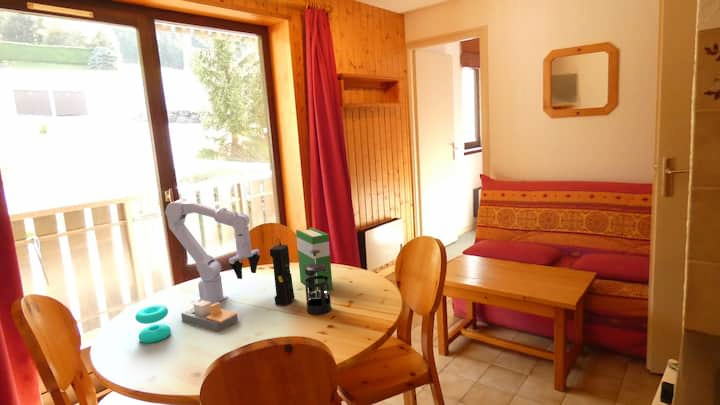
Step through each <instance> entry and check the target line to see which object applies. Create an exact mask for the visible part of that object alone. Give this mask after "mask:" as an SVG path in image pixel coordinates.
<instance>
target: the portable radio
mask: <svg viewBox="0 0 720 405" xmlns="http://www.w3.org/2000/svg"><path fill="white" fill-rule="evenodd" d="M278 240H279V243H278V244H277V245H274V246H273V247H272V248H270V249H269V255H270V257H271V258H272V265H273V275H274V286H275V287H274V288H275V294H276V295H275V296H274V305H276V306H278V305H279V306H289V305H290V304H291V303H292V302H293V300H294V299H295V298H296V296H295V292H294V285H293V277H292V273H291V269H290V265H291V264H290V253H289V252H290V251H289V246H288V244H282V242H281V239H280V238H279V239H278Z"/></svg>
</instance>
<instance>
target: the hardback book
mask: <svg viewBox="0 0 720 405" xmlns="http://www.w3.org/2000/svg"><path fill="white" fill-rule="evenodd" d="M295 235H296V245H297V257H298V258H297V259H298V268H299V269H298V270H299V280H300V283H301V284H302V285H304V286H305V279H307V278H308V275H306V274H305V270H304V267H305V266H307V265H310V264H315V259H316V263H323V264H327V265H328V268H327V272H325V271H323V270H322V271H318V272H317V276H327V277H328V278H329V291H333V277H332V265H331V263H332V262H331V250H330V239H329V234H328V233H326V232H323V231H321V230H318V229H316V228H313V227H309V229H306V230H299V229H296V230H295ZM312 250H319V251H320V252H319V253H316V256H315V258H314V255H313V254H310V253H309V251H312ZM313 276H316V273H315V274H314V275H313ZM325 281H326V280H325V279H317V282H316V279H314V282H315V284H317V283H322V282H325ZM307 283H308V282H307ZM308 289H309V287H308ZM315 290H317V287H315ZM318 290H320V287H318ZM325 290H326V291H327V285H325Z"/></svg>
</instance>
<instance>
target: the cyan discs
mask: <svg viewBox="0 0 720 405" xmlns="http://www.w3.org/2000/svg"><path fill="white" fill-rule="evenodd" d="M168 314H169V310H168V308H167V307H166V306H164V305H161V304H157V305H150V306H146V307H144V308H142V309H140V310H138V311H137V313H136V314H135V320H136V321H137V322H138V323H139V324H144V325H145V324H148V326H146V327H144V328H143V329H141V331H139V333H138V340H139V341H140V342H141V343H144V344H153V343H157V342H160V341H162V340H165V339H166V338H168V336H169V335H170V334H171V332H172V329H171V327H170V325H168V324H166V323H157V322H160V321H162V320H163V319H165V317H166V316H168Z"/></svg>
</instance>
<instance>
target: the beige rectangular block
mask: <svg viewBox="0 0 720 405" xmlns="http://www.w3.org/2000/svg"><path fill="white" fill-rule="evenodd" d="M210 305H212V303H211V302H209V301H204V300H202V301H197V302H195V303H193V308H194V311H195V315H198V316H202V317H204V316H206V315H208V314H210Z"/></svg>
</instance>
